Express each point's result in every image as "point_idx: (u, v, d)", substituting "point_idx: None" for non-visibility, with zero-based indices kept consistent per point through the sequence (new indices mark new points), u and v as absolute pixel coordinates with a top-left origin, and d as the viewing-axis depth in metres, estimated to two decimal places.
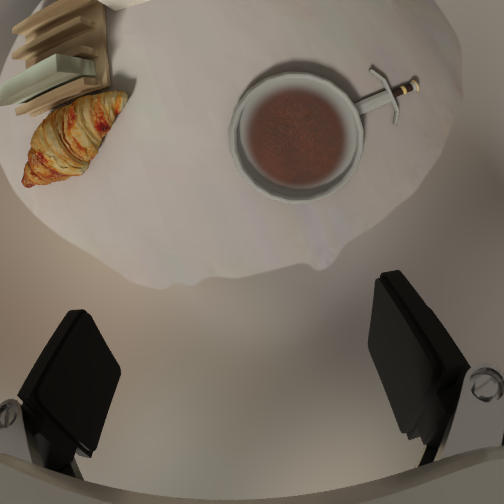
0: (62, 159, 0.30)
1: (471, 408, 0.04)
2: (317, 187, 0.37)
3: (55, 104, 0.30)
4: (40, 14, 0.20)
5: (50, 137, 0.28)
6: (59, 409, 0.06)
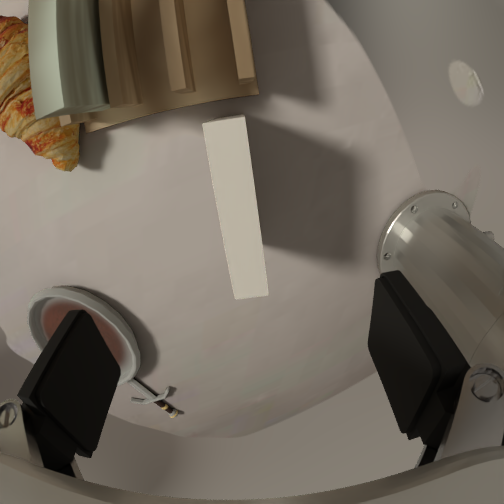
0: None
1: (471, 408, 0.04)
2: None
3: None
4: None
5: (5, 81, 0.14)
6: (59, 409, 0.06)
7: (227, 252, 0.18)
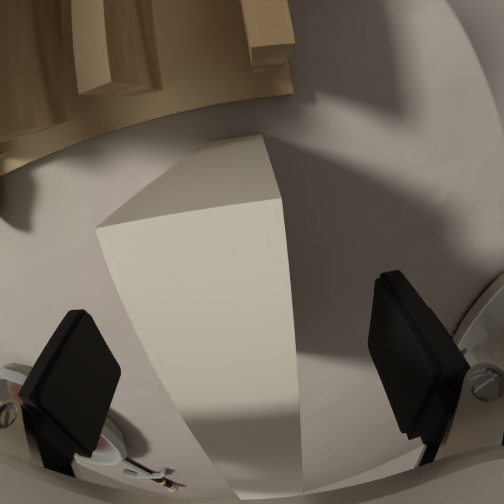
0: None
1: (471, 408, 0.04)
2: None
3: None
4: None
5: None
6: (59, 409, 0.06)
7: (227, 477, 0.07)
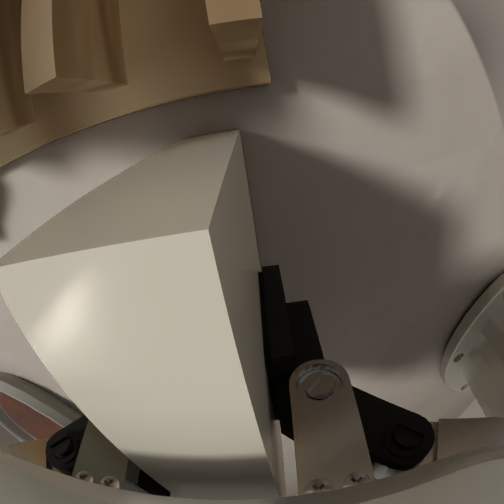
0: None
1: (309, 412, 0.05)
2: (19, 427, 0.22)
3: None
4: None
5: None
6: None
7: None
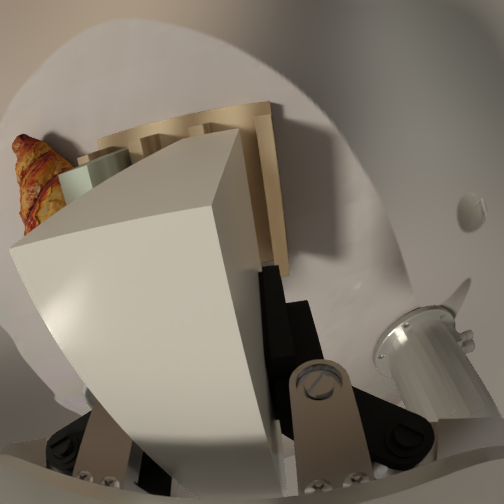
0: None
1: (309, 412, 0.05)
2: None
3: None
4: (269, 195, 0.20)
5: None
6: None
7: None
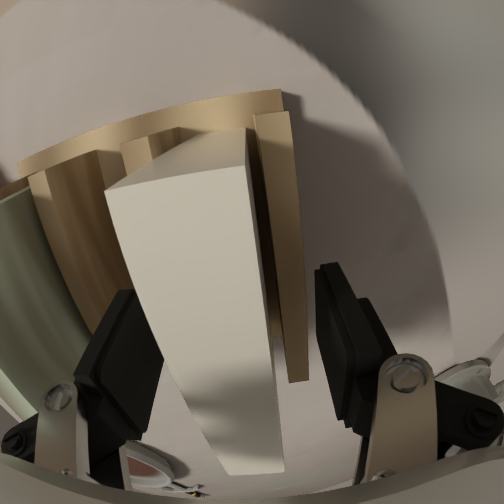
0: None
1: (393, 403, 0.04)
2: None
3: None
4: (282, 272, 0.11)
5: None
6: (116, 387, 0.07)
7: (211, 441, 0.08)
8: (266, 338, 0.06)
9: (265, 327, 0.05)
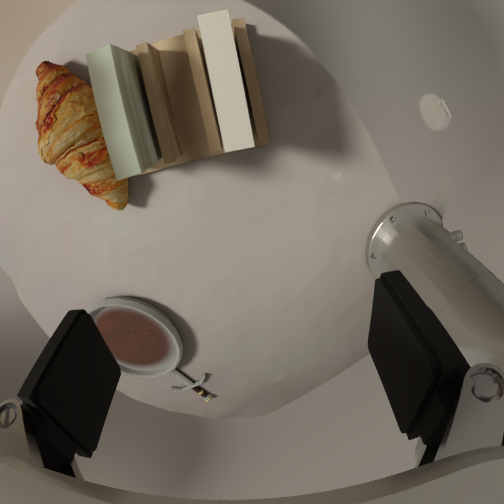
0: (48, 151, 0.24)
1: (471, 408, 0.04)
2: None
3: None
4: (247, 73, 0.22)
5: (68, 136, 0.23)
6: (59, 409, 0.06)
7: (217, 107, 0.19)
8: None
9: (234, 43, 0.17)
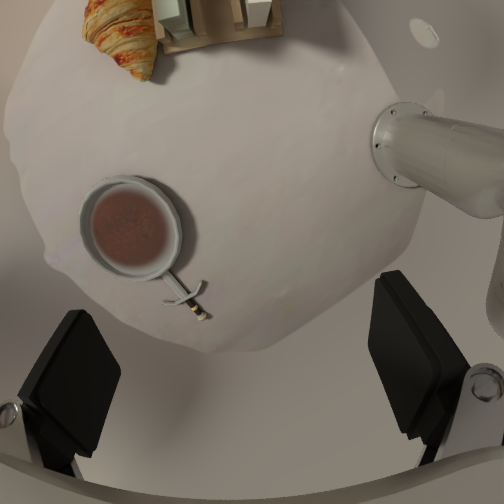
0: (93, 24, 0.23)
1: (471, 408, 0.04)
2: (96, 249, 0.42)
3: None
4: None
5: (115, 11, 0.23)
6: (59, 409, 0.06)
7: None
8: None
9: None
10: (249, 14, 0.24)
